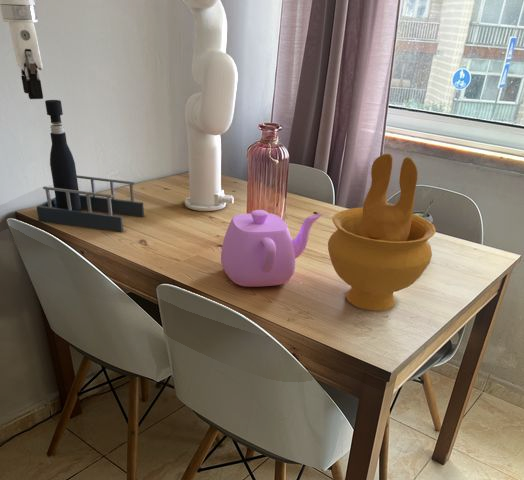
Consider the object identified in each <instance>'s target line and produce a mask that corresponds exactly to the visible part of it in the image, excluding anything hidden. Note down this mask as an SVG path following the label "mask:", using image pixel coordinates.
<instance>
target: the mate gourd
mask: <svg viewBox="0 0 524 480" xmlns="http://www.w3.org/2000/svg"><path fill="white" fill-rule="evenodd" d="M443 195H444V194H443V193H440V194H438V195H436V196H434V197H433V198H432V199H430V201H429V203H428V205H427V207H426V208H425V209H426V210H425V211H420V210H419V211H417V210H416V211H413V212H412V214H414V215H417V216H419V217H422V218H424V219H426V220H427V221H429V222H430V223H431V224H433V225H434V222H433V221H434V219H433V217H432V215H431V214H430V213H429V210H430V208H431V206H432V205H433V204H434V202H435V200H437V199H438V198H440V197H441V196H443ZM428 240H429V239H428ZM428 240H427V241H428ZM428 242H429V241H428Z"/></svg>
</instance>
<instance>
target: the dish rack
mask: <svg viewBox="0 0 524 480" xmlns="http://www.w3.org/2000/svg"><path fill="white" fill-rule="evenodd" d="M76 175H77V174H76ZM77 179H83V180H90V187H91V191H83V190H79V191H76V190H68V189H60V188H54V187H52V186H42V189H43V190H45V195H46V201H45V202H43V203H41V204H39V205H37V206H36V212H37V218H38V221H39V222H44V223H45V222H46V223H51V224H52V223H53V224H60V225H67V226H75V227H80V228H81V227H82V228H89V229H96V230H102V231H110V232H119V233H123V232H124V224H123V222H124V221H123V216H124V215H126V216H131V217H139V218H144V217H145V211H144V209H145V208H144V202H141V201H135V194H134V193H135V192H134V186H135V184H136V183H135V181H128V180H120V179H111V178H103V177H94V176H87V175H77ZM95 181H100V182H108V183H109V186H110V194H109V193H108V194H107V193H99V192H96V183H95ZM114 183H117V184H126V185H129V195H130V200H126V199H118V198H116V194H115V185H114ZM50 191H53V192H54V191H62V192H66V198H67V204H68V209H61V208H57V204H56V198H55V197H53V198H51V193H50ZM69 192H70V193H78V194H79V196H80V203H81V210H82V211H76V210H72V207H71V201H70V194H69ZM83 210H86V211H83ZM98 212H100V213H98ZM104 213H105V214H104ZM106 213H108V214H106ZM113 214H115V215H113ZM121 215H123V216H121Z"/></svg>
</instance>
